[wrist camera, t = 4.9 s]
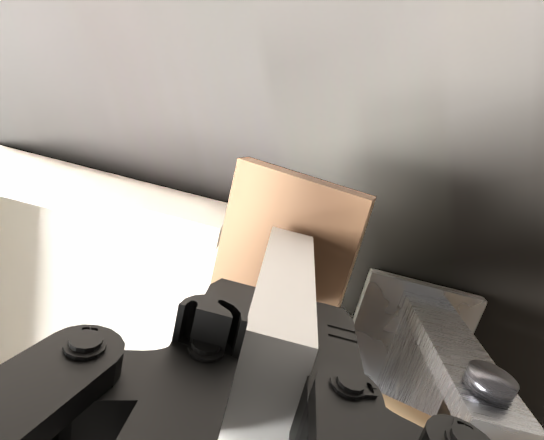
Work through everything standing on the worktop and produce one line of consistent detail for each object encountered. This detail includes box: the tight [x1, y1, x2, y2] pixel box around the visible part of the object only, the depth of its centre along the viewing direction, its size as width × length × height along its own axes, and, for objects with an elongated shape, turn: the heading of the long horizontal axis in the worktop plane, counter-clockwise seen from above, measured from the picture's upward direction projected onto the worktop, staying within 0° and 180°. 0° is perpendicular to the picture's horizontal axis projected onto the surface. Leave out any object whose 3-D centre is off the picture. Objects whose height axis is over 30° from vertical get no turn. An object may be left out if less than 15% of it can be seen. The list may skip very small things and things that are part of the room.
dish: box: [0, 145, 228, 364], centre depth 20 cm, size 13×14×4 cm
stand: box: [353, 268, 544, 440], centre depth 18 cm, size 6×11×9 cm, turn 166°
